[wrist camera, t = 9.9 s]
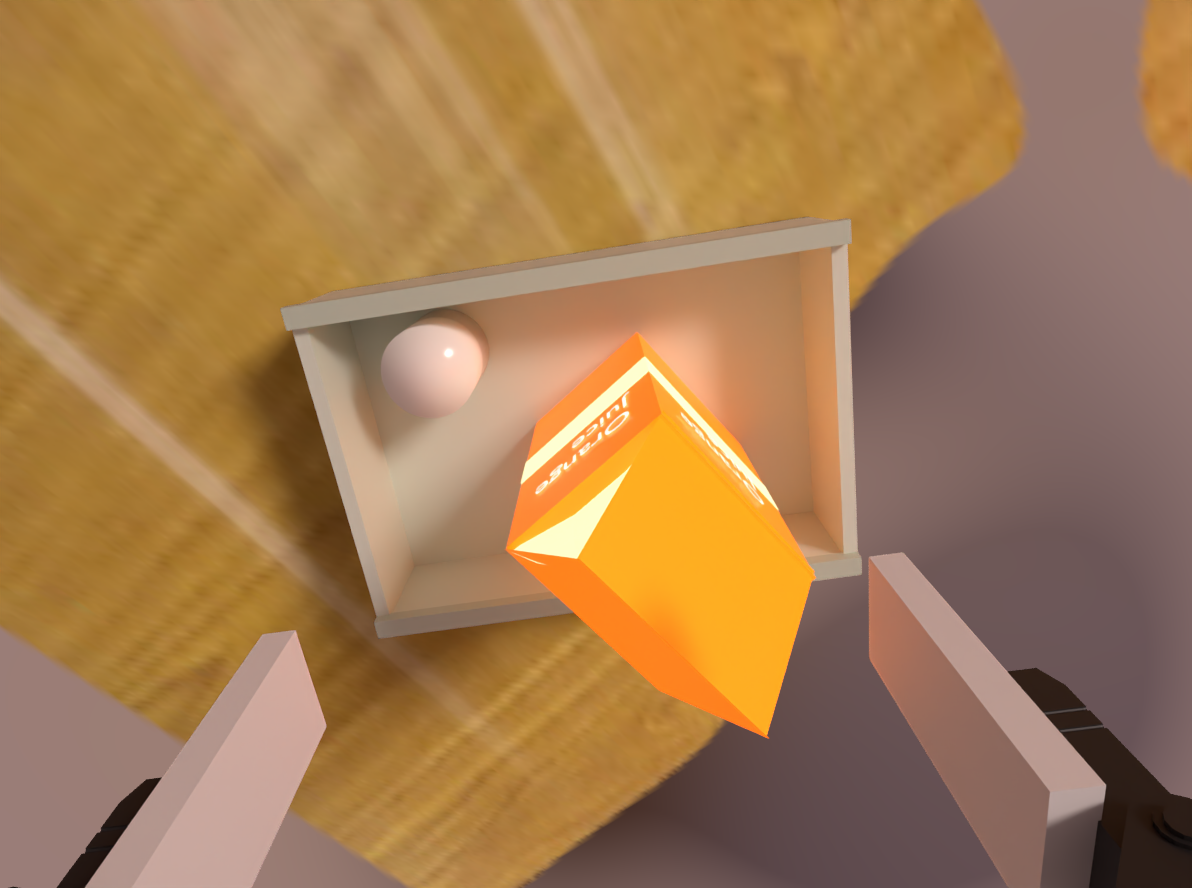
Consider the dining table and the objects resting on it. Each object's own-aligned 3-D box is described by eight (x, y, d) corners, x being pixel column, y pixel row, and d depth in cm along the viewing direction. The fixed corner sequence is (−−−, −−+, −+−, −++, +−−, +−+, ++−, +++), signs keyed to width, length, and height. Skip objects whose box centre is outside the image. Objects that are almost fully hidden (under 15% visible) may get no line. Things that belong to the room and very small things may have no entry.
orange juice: (638, 329, 38) (682, 469, 19) (743, 444, 40) (875, 670, 21) (532, 425, 40) (478, 639, 21) (639, 530, 42) (675, 809, 23)
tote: (409, 574, 44) (378, 638, 38) (331, 288, 38) (280, 308, 32) (823, 518, 42) (862, 574, 36) (807, 213, 37) (850, 219, 31)
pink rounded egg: (417, 396, 39) (393, 424, 35) (397, 316, 38) (370, 334, 33) (496, 383, 39) (483, 410, 34) (480, 302, 38) (463, 319, 33)
